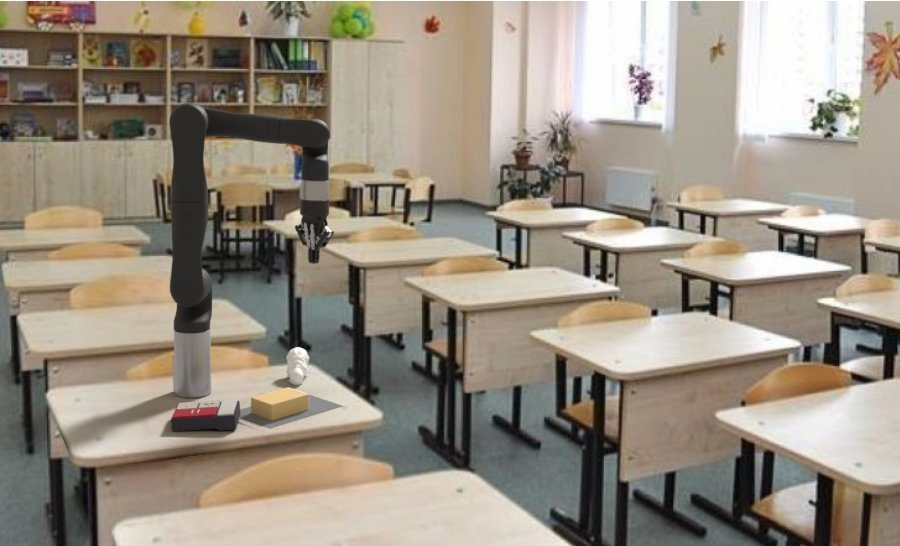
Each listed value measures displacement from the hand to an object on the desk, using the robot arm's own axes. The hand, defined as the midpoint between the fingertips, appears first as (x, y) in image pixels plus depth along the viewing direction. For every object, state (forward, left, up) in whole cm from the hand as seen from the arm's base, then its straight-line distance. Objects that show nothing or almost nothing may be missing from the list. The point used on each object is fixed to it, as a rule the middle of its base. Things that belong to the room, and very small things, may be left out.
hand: (313, 263), depth 277 cm
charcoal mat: (+8, -16, -35) cm, 39 cm away
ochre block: (+8, -12, -32) cm, 35 cm away
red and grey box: (+2, -36, -35) cm, 50 cm away
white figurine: (-9, +2, -35) cm, 36 cm away
